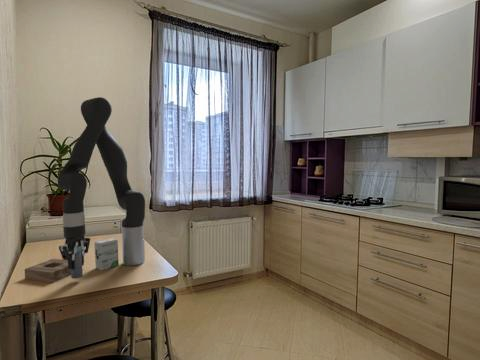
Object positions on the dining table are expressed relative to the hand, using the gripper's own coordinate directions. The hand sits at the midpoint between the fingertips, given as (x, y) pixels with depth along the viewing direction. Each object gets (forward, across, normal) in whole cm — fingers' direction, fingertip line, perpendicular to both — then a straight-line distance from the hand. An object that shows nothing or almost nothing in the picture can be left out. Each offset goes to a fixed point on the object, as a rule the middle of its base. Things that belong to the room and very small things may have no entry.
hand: (76, 267), depth 124 cm
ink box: (+6, +18, 0) cm, 19 cm away
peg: (+4, 0, 0) cm, 4 cm away
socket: (+6, +4, +15) cm, 17 cm away
